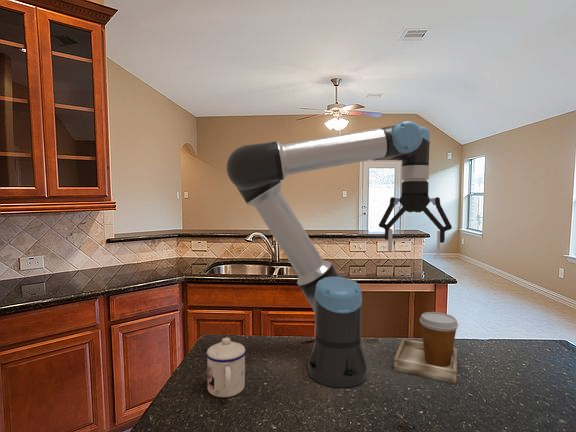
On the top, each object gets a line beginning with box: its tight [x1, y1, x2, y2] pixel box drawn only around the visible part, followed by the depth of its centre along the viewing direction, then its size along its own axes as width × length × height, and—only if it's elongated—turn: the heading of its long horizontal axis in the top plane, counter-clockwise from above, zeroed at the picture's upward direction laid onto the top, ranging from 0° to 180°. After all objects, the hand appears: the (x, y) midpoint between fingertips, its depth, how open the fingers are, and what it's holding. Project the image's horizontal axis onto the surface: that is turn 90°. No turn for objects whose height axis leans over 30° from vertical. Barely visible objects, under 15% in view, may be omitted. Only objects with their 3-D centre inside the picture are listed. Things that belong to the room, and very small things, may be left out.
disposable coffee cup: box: [419, 311, 459, 367], centre depth 91 cm, size 10×10×12 cm
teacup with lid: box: [205, 337, 247, 398], centre depth 78 cm, size 12×9×12 cm
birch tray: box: [393, 338, 458, 385], centre depth 92 cm, size 15×15×3 cm
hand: (413, 252), depth 102 cm, fingers open, 13 cm apart
